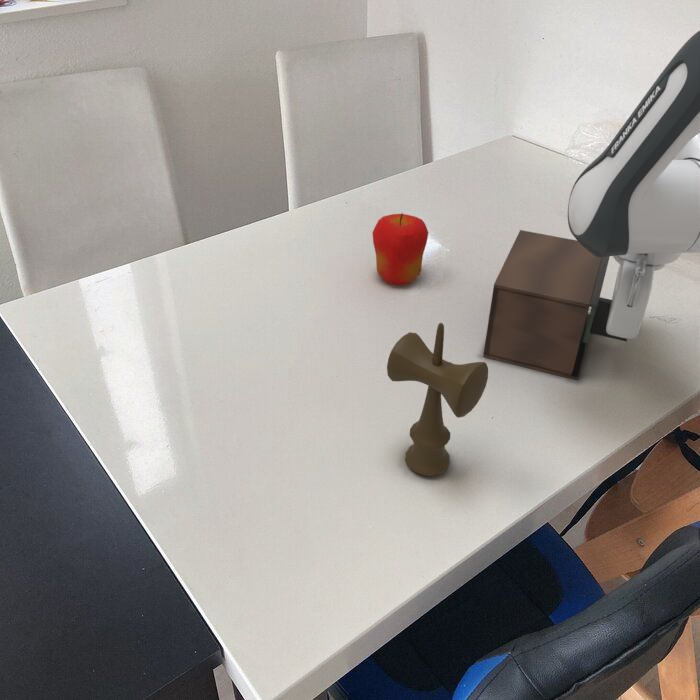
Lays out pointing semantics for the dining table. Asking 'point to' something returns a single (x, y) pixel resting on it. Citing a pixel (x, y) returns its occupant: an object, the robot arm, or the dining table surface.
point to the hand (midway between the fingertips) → (618, 326)
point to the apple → (399, 247)
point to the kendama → (435, 396)
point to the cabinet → (544, 304)
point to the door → (599, 320)
